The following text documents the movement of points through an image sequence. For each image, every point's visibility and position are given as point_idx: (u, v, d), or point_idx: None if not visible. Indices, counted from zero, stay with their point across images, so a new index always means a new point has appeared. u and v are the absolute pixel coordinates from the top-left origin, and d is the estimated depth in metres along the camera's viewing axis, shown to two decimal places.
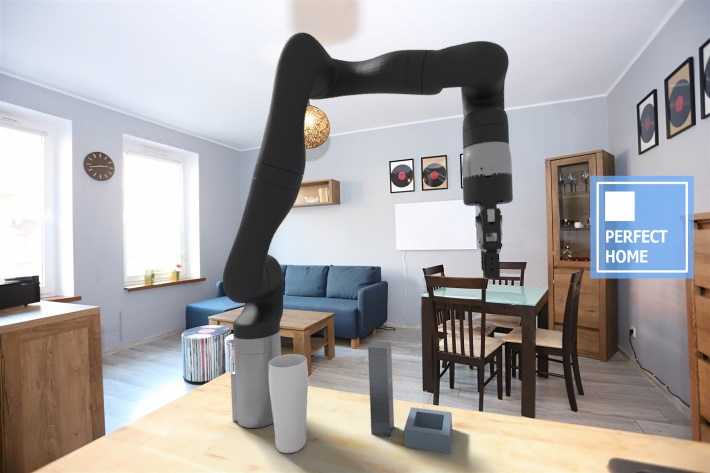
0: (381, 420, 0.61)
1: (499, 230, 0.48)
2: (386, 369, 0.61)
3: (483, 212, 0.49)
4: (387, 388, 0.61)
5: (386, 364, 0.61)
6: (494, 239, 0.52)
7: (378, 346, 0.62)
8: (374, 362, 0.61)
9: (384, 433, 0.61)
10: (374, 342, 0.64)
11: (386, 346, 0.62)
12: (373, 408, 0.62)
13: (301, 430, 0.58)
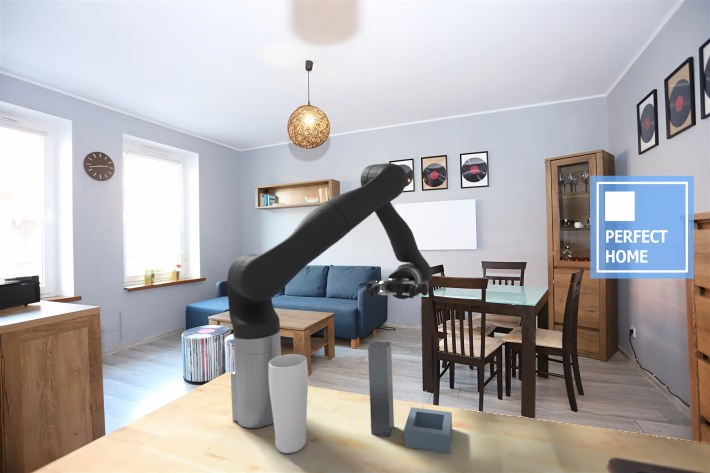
0: (381, 420, 0.61)
1: (427, 292, 0.78)
2: (386, 369, 0.61)
3: (428, 281, 0.80)
4: (387, 388, 0.61)
5: (386, 364, 0.61)
6: None
7: (378, 346, 0.62)
8: (374, 362, 0.61)
9: (384, 433, 0.61)
10: (374, 342, 0.64)
11: (386, 346, 0.62)
12: (373, 408, 0.62)
13: (301, 430, 0.58)
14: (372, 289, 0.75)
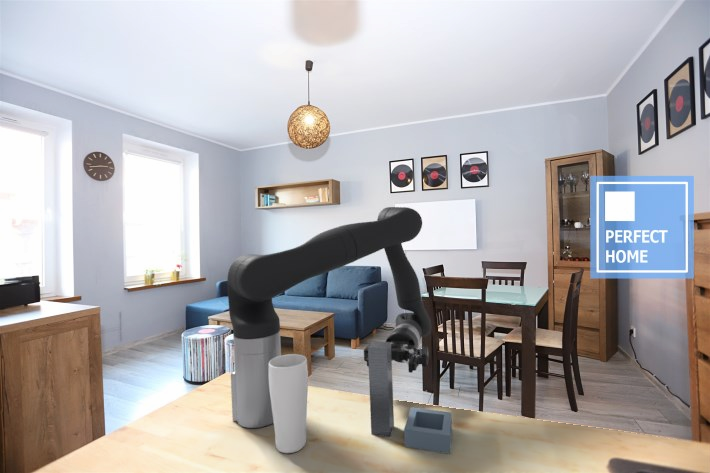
0: (381, 420, 0.61)
1: (427, 361, 0.75)
2: (386, 369, 0.61)
3: (427, 347, 0.77)
4: (387, 388, 0.61)
5: (386, 364, 0.61)
6: None
7: (378, 346, 0.62)
8: (374, 362, 0.61)
9: (384, 433, 0.61)
10: (374, 342, 0.64)
11: (386, 346, 0.62)
12: (373, 408, 0.62)
13: (301, 430, 0.58)
14: None
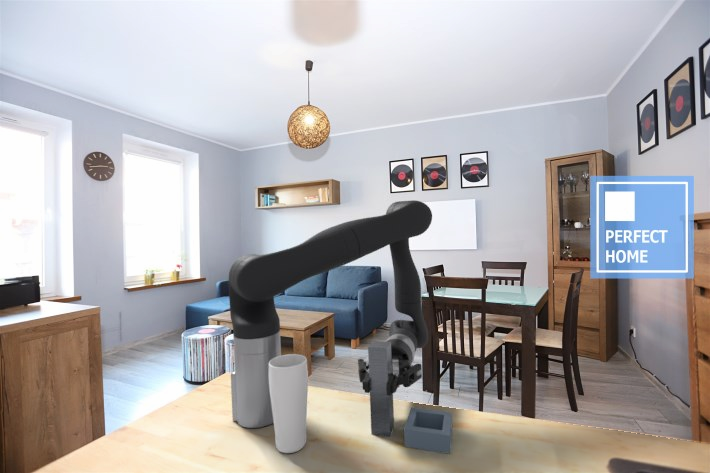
0: (381, 420, 0.61)
1: (414, 382, 0.65)
2: (386, 369, 0.61)
3: None
4: None
5: (386, 364, 0.61)
6: None
7: (378, 346, 0.62)
8: (374, 362, 0.61)
9: (384, 433, 0.61)
10: (374, 341, 0.64)
11: (386, 346, 0.62)
12: (373, 408, 0.62)
13: (301, 430, 0.58)
14: (366, 383, 0.61)
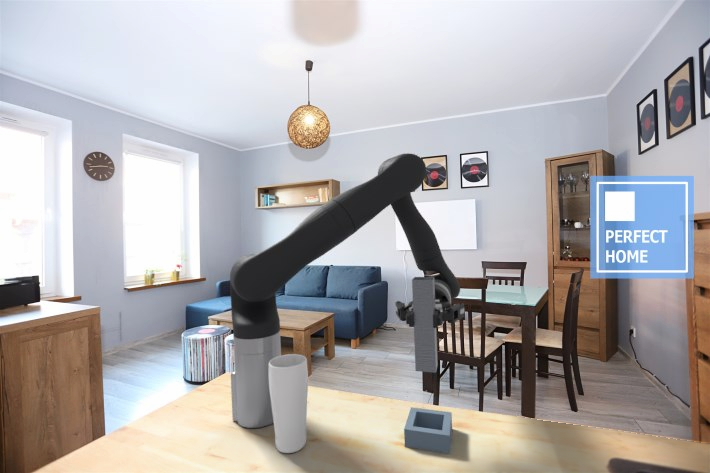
0: (426, 355, 0.59)
1: (458, 319, 0.62)
2: (432, 302, 0.58)
3: (463, 305, 0.64)
4: None
5: (432, 296, 0.58)
6: None
7: (422, 279, 0.59)
8: (419, 295, 0.59)
9: (429, 369, 0.58)
10: (417, 277, 0.62)
11: (431, 278, 0.59)
12: (417, 343, 0.59)
13: (301, 430, 0.58)
14: (411, 317, 0.58)
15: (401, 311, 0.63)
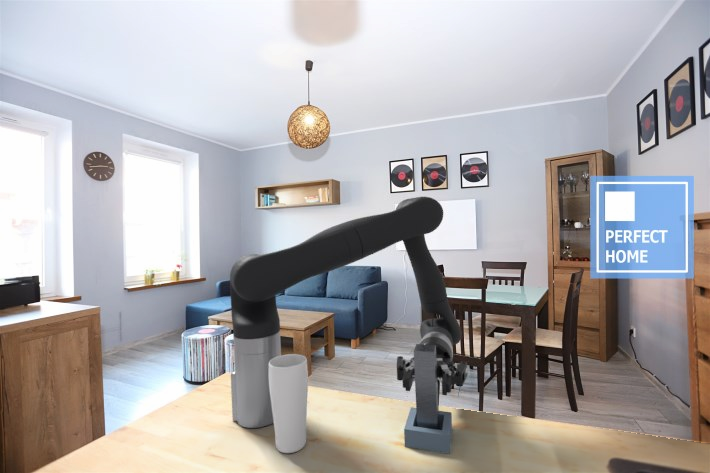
0: (428, 427, 0.59)
1: (464, 380, 0.62)
2: (433, 374, 0.58)
3: None
4: (435, 393, 0.58)
5: (433, 368, 0.58)
6: None
7: (424, 350, 0.59)
8: (421, 366, 0.59)
9: None
10: (418, 345, 0.62)
11: (433, 349, 0.59)
12: (419, 414, 0.59)
13: (301, 430, 0.58)
14: (407, 381, 0.59)
15: (397, 370, 0.64)
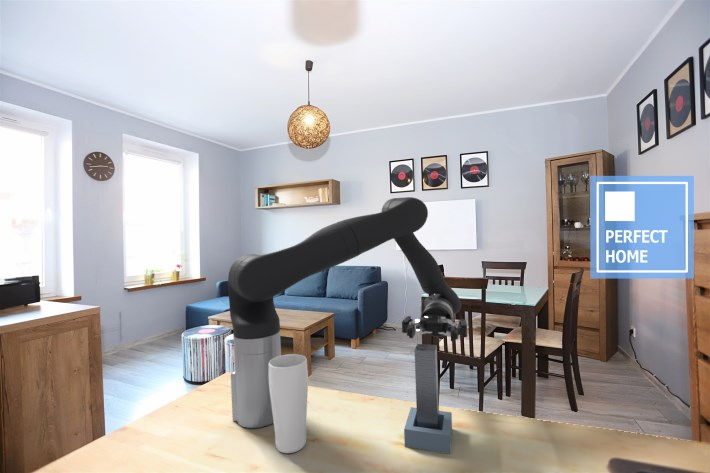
0: (428, 426, 0.59)
1: None
2: (434, 373, 0.58)
3: (465, 320, 0.78)
4: (435, 393, 0.58)
5: (434, 368, 0.58)
6: (450, 331, 0.75)
7: (425, 349, 0.59)
8: (421, 365, 0.59)
9: None
10: (419, 344, 0.62)
11: (434, 349, 0.59)
12: (420, 413, 0.59)
13: (301, 430, 0.58)
14: (411, 330, 0.72)
15: (402, 324, 0.77)
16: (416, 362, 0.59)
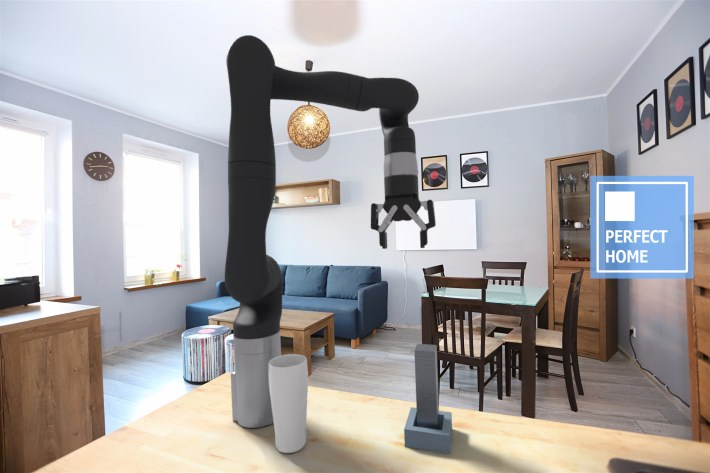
0: (428, 426, 0.59)
1: (434, 215, 0.74)
2: (434, 373, 0.58)
3: (432, 201, 0.73)
4: (435, 393, 0.58)
5: (434, 368, 0.58)
6: None
7: (425, 349, 0.59)
8: (421, 365, 0.59)
9: None
10: (419, 344, 0.62)
11: (433, 349, 0.59)
12: (420, 413, 0.59)
13: (301, 430, 0.58)
14: (384, 248, 0.76)
15: (372, 228, 0.77)
16: (416, 362, 0.59)
